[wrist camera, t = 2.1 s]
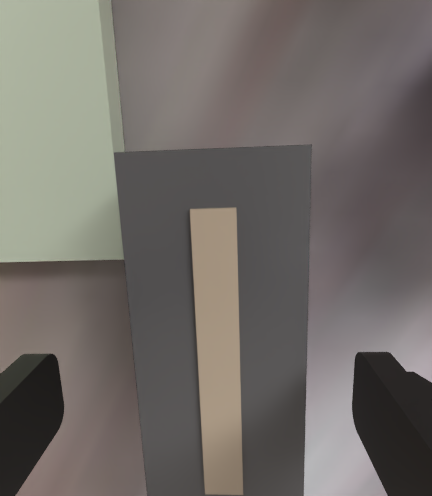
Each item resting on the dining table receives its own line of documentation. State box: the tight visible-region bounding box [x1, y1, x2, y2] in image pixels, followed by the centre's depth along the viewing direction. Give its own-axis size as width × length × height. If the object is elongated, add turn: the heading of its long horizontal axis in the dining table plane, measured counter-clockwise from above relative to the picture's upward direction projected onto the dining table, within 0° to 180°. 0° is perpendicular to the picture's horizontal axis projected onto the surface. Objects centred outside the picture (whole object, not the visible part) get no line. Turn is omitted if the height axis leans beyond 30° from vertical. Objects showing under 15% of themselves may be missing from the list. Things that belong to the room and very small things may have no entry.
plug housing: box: [114, 145, 312, 496], centre depth 13 cm, size 5×12×6 cm, turn 2°
